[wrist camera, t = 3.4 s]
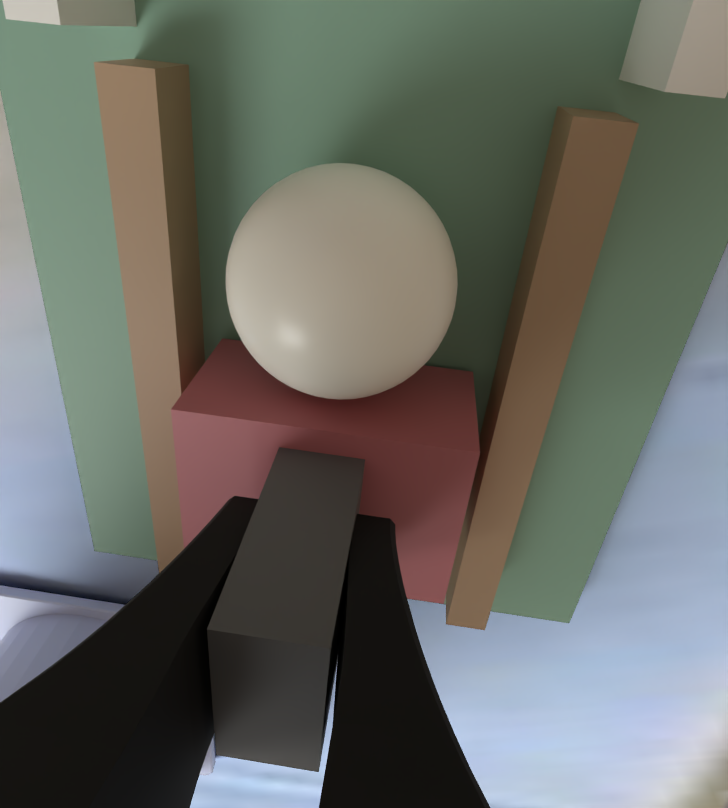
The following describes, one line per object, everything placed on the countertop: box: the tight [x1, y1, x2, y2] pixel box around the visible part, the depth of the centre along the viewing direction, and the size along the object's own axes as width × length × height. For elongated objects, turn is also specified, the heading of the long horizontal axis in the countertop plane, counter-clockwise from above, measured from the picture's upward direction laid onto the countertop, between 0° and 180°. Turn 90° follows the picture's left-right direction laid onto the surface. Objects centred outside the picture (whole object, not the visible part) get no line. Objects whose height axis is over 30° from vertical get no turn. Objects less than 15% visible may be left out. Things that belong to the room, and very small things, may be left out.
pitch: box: [0, 0, 728, 630], centre depth 12 cm, size 20×14×2 cm
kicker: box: [171, 338, 480, 772], centre depth 11 cm, size 4×6×7 cm
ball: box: [225, 163, 458, 400], centre depth 11 cm, size 4×4×4 cm
